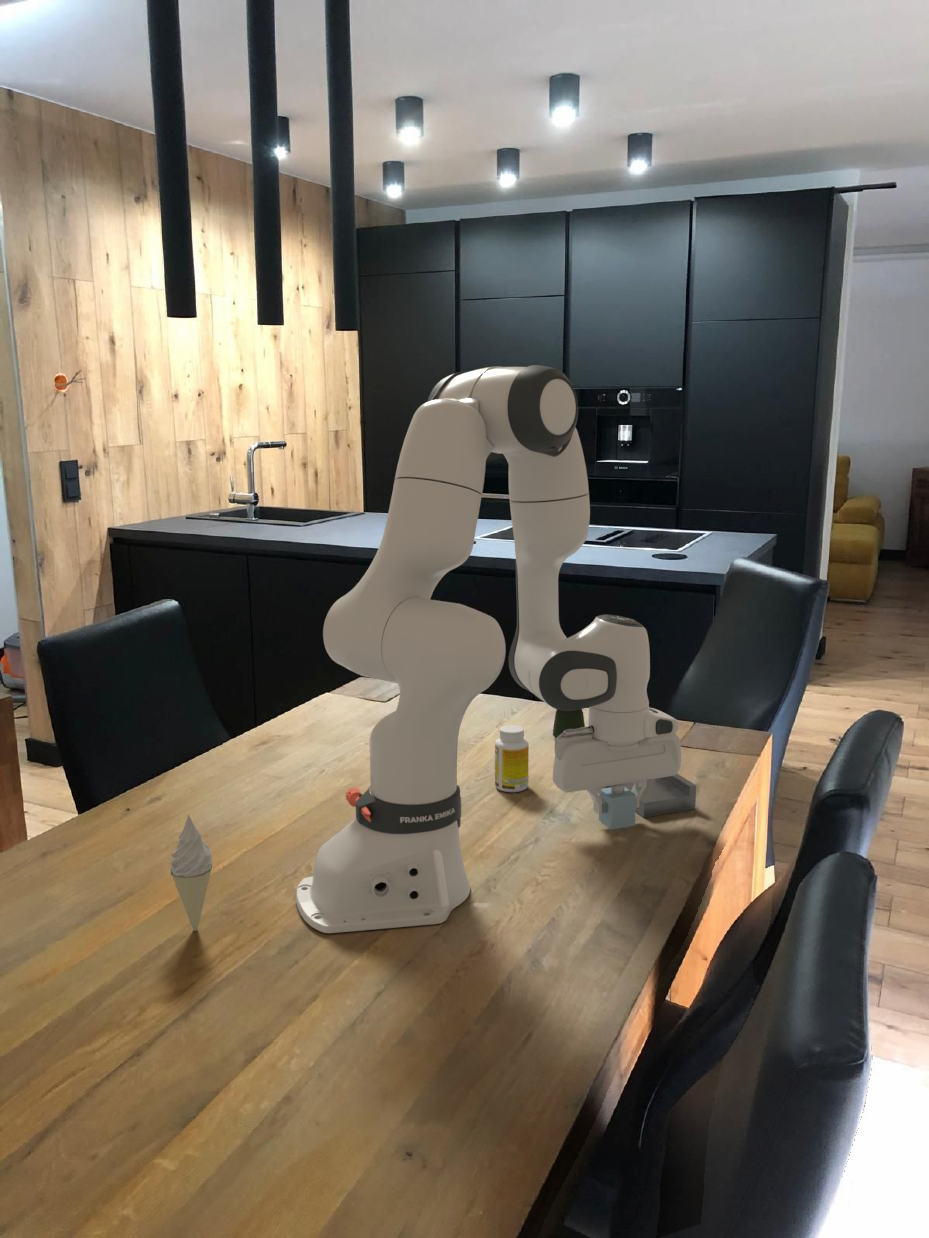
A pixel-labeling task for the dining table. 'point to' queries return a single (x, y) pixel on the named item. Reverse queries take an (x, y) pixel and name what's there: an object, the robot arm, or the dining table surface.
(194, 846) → the ice cream cone
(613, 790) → the light blue tall block
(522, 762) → the supplement bottle
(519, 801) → the dining table surface
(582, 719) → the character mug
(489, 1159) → the dining table surface
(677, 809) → the rail
